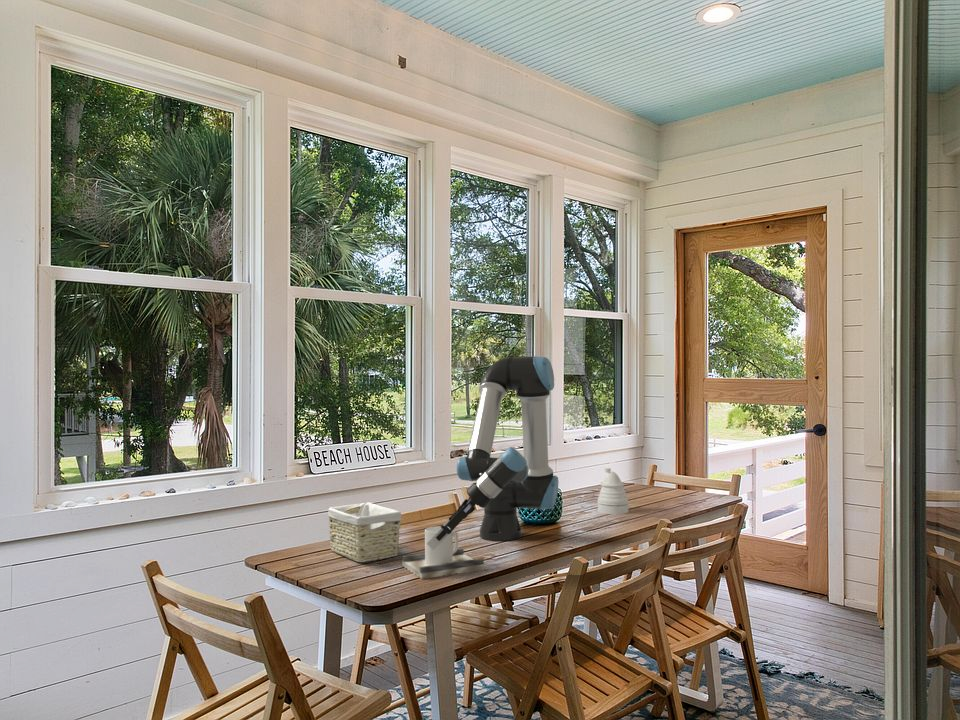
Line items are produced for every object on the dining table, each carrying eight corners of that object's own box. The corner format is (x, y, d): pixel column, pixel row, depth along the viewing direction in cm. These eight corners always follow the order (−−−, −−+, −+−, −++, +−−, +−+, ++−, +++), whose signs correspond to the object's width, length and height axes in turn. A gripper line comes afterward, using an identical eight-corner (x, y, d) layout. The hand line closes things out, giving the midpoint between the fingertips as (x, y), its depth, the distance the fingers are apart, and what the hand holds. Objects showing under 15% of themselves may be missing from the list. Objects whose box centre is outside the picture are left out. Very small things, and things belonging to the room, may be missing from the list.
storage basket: (325, 550, 232) (325, 506, 232) (369, 543, 241) (369, 501, 242) (357, 565, 212) (357, 517, 213) (403, 557, 222) (403, 511, 222)
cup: (419, 563, 208) (419, 529, 209) (449, 556, 217) (448, 523, 217) (437, 568, 202) (437, 533, 203) (467, 560, 211) (467, 527, 211)
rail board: (461, 557, 221) (461, 548, 221) (484, 569, 206) (484, 559, 206) (402, 565, 212) (402, 555, 212) (421, 578, 197) (421, 568, 197)
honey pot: (594, 513, 291) (594, 470, 292) (601, 507, 303) (600, 466, 303) (625, 515, 286) (624, 471, 287) (630, 509, 298) (630, 467, 299)
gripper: (478, 476, 220) (430, 524, 221) (470, 487, 197) (417, 542, 198) (495, 492, 220) (447, 541, 221) (489, 506, 197) (436, 560, 198)
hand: (433, 541), depth 209 cm, fingers open, 11 cm apart
